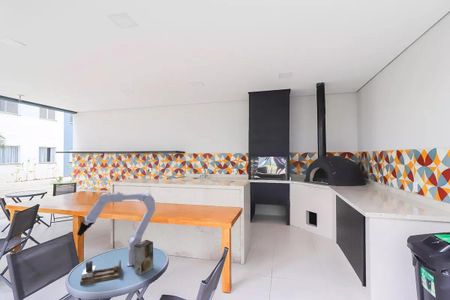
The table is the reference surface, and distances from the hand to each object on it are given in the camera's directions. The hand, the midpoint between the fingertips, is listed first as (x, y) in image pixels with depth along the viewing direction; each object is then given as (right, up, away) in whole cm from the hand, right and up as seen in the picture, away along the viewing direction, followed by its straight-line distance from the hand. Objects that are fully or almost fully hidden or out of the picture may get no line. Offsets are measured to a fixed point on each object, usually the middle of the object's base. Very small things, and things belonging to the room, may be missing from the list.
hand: (80, 233), depth 124 cm
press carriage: (+8, -21, -4) cm, 23 cm away
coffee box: (+36, -24, +4) cm, 43 cm away
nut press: (+14, -24, -2) cm, 27 cm away
